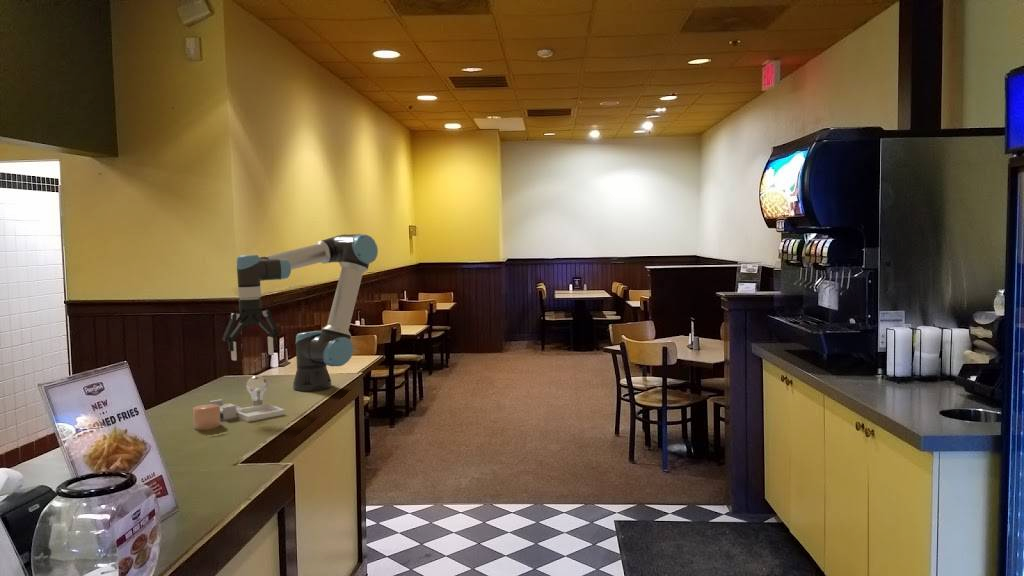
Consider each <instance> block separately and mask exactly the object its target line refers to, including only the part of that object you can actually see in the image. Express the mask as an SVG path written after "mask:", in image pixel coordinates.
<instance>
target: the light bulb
mask: <svg viewBox="0 0 1024 576" xmlns="http://www.w3.org/2000/svg"><path fill="white" fill-rule="evenodd" d="M267 387H268V383H267V381H266V378H264V377H263V376H261V375H253V376H251V377H249V379H248V380H247V382H246V390H247V392H248V393H249V394H250V397H251V400H252V406H257V405H262V404H263V399H264V394H265V392H266V390H267Z"/></svg>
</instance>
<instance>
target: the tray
mask: <svg viewBox="0 0 1024 576" xmlns="http://www.w3.org/2000/svg"><path fill="white" fill-rule="evenodd" d="M285 415H286V409H285V408H282V407H279V406H276V405H274V404H271V403H262V405H257V406H253V405H252V406H248V407H247V406H246V407H241V411H237V417H239V418H238V419H239V420H242V421H245V422H246V423H250V422H255V421H262V420H266V419H271V418H277V417H281V416H285Z"/></svg>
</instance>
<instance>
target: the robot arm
mask: <svg viewBox="0 0 1024 576" xmlns="http://www.w3.org/2000/svg"><path fill="white" fill-rule="evenodd" d="M378 253H379V249H378V245H377V243H376V241H375V238H373V237H372V236H370V235H368V234H362V233H356V234H355V233H353V234H340V235H334V236H332V237H329V238H326V239H323V240H319V241H317V242H316V243H315V244H311V245H308V246H304V247H303V246H302V247H299V248H295V249H290V250H285V251H281V252H276V253H273V254H269V255H268V254H267V255H264V256H259V255H258V254H244V255H239V256H237V257H236V273H237V275H236V277H237V286H238V287H237V293H238V298H239V300H238V309H239V313H233V312H231V313H230V315H229V316H230V317H229V321H228V324H227V326H226V328H225V331H224V333H223V335H222V338H221V340H222V341H223V342H227V347H228V349H227V350H228V351H229V352H230V357H231V361H237V360H238V359H237V358H238V356H237V355H238V354H237V341H235V340H236V339H237V337H238V335H239V334H240V333H241V332H242V330H243V329H244V327H246V326H251V325H259V326H260V327H261V329H263V331H264V332H265V333H266V334H268V335H269V336H267V349H268V350H267V352H268V355H270V356H274V353H275V352H274V351H275V350H274V346H276V337H277V336H278V335H280V334H281V332H280V329H279V328H278V326H277V324H276V323H275V320H274V319H273V316H272V314H271V313H272V312H271V310H268V309H265V310H262V307H263V306H262V299H261V297H262V291H261V289H262V288H261V282H262V281H263V282H264V281H278V280H279V281H281V280H286V279H288V278H289V277H290V276H291V273H292V270H296V269H300V268H303V267H304V268H305V267H307V266H311V265H315V264H316V265H317V264H319V263H321V264H323V265H325V264H331V263H339V265H340V267H341V270H340V274H339V278H338V282H337V286H336V289H335V294H334V297H333V301H332V305H331V308H330V312H329V315H328V320H327V324H326V325H325V326H324V327H322V328H321V330H314V331H305V332H300V333H297V334H296V336H295V352H296V372H295V376H294V379H293V382H292V389H293V390H295V391H299V392H313V391H323V390H326V389H329V388H331V387H332V379H331V376H330V373H329V371H328V369H327V366H329V367H342V366H344V365H346V364H347V363H348V362H349V361H350V360H351V358H352V357H353V355H354V345H353V342H352V341H351V338H352V334H351V332H350V331H349V330H350V326H351V322H352V318H353V314H354V309H355V305H356V302H357V297H358V295H359V291H360V286H361V282H362V280H363V274H364V273H366V272H367V271H368V270H369V266H370V264H372V263H373V262H374V261H376V259H377V257H378ZM262 317H264V318H265V319H266V321H267V323H268V325H269V326H270V327H269V326H268V325H267V324H266V323H265V322H264V320H263V319H262ZM238 319H240V320H239V322H238V323H237V325H236V322H237V320H238ZM235 325H236V327H235ZM234 327H235V328H234Z"/></svg>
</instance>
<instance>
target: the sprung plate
mask: <svg viewBox="0 0 1024 576" xmlns="http://www.w3.org/2000/svg"><path fill="white" fill-rule="evenodd" d="M222 404H223V403H222ZM231 405H235V404H234V403H224V404H223V405H220V414H223V407H226V406H231ZM241 408H242V407H241V406H238V405H236V411H241Z"/></svg>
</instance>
